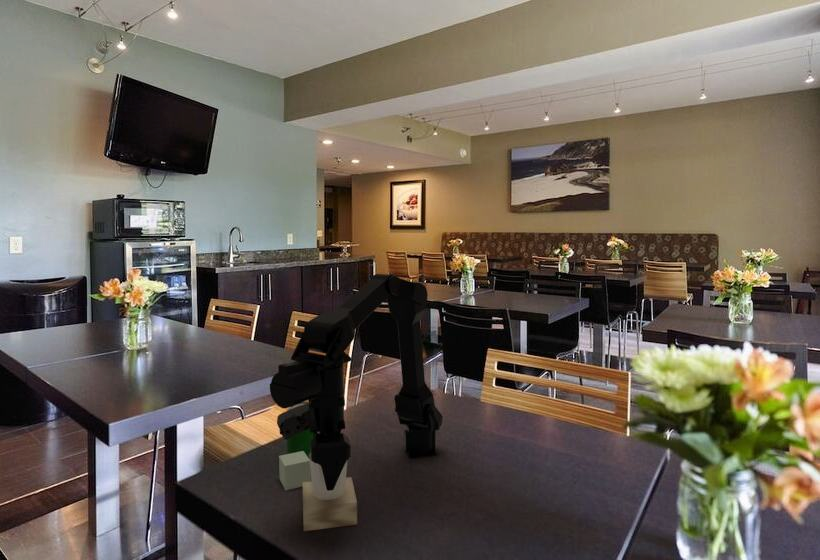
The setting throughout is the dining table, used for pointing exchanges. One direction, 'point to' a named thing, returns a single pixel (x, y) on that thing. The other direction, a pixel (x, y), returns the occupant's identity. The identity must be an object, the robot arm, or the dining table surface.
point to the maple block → (329, 508)
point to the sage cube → (294, 470)
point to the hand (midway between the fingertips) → (328, 476)
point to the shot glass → (320, 485)
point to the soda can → (300, 439)
